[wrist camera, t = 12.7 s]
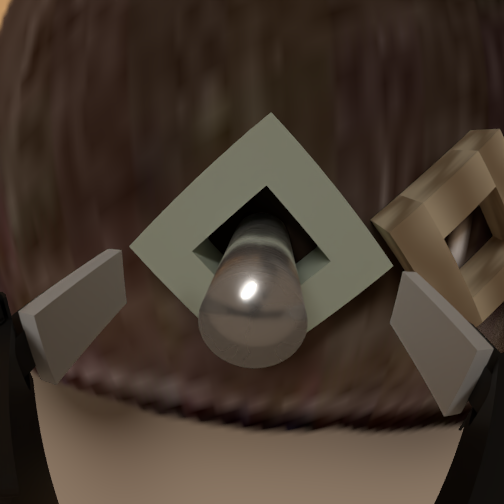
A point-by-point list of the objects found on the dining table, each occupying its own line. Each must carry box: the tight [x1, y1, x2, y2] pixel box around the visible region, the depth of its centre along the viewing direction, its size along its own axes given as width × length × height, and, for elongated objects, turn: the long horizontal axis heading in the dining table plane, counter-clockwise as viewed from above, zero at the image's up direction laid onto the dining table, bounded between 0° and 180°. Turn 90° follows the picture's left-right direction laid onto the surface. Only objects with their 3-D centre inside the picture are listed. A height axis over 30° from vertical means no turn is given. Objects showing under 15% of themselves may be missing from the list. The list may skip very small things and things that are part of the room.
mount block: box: [371, 129, 504, 328], centre depth 19 cm, size 12×12×4 cm
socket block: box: [129, 113, 393, 369], centre depth 21 cm, size 12×12×4 cm
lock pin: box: [198, 213, 308, 368], centre depth 17 cm, size 4×4×12 cm
